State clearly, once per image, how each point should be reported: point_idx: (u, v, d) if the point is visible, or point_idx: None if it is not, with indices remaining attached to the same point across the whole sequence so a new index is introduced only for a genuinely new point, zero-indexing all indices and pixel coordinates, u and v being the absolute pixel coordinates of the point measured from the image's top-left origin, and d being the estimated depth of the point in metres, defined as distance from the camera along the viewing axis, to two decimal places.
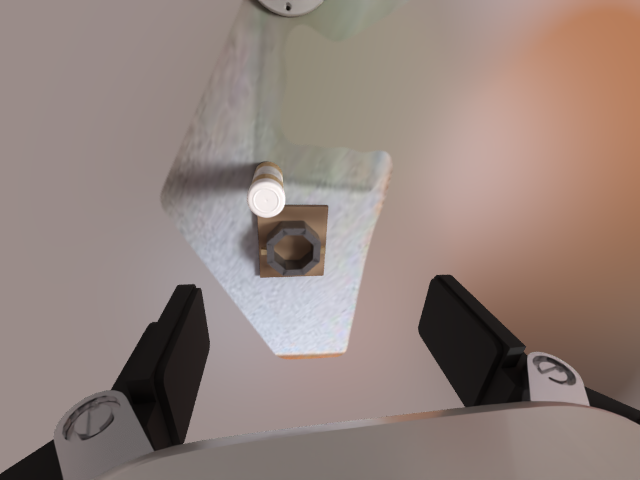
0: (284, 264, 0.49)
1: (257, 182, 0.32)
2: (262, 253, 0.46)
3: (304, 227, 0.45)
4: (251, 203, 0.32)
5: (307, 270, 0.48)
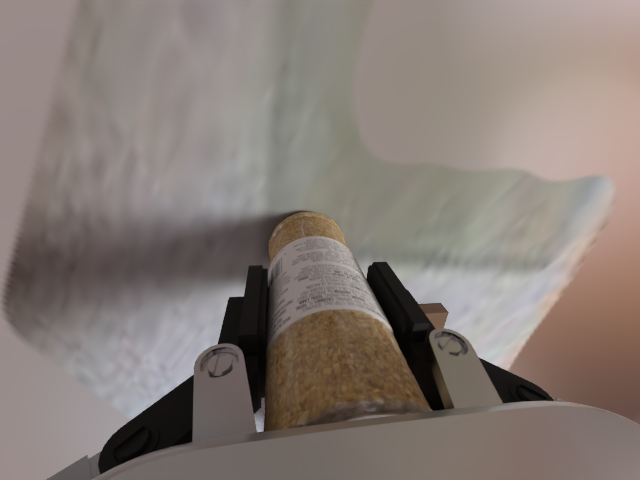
0: None
1: None
2: None
3: None
4: None
5: None
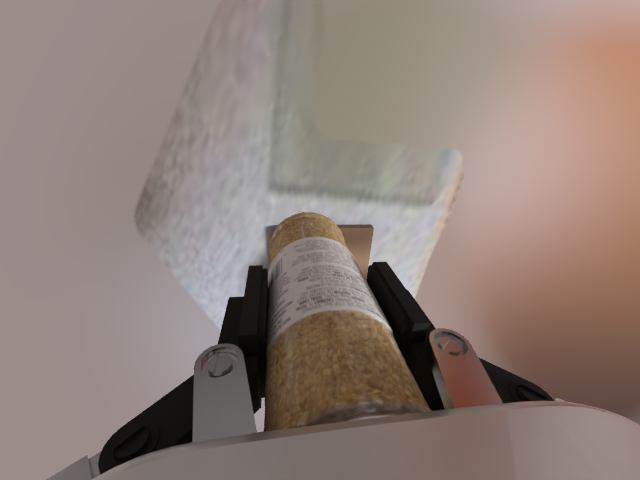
0: None
1: None
2: None
3: None
4: None
5: None
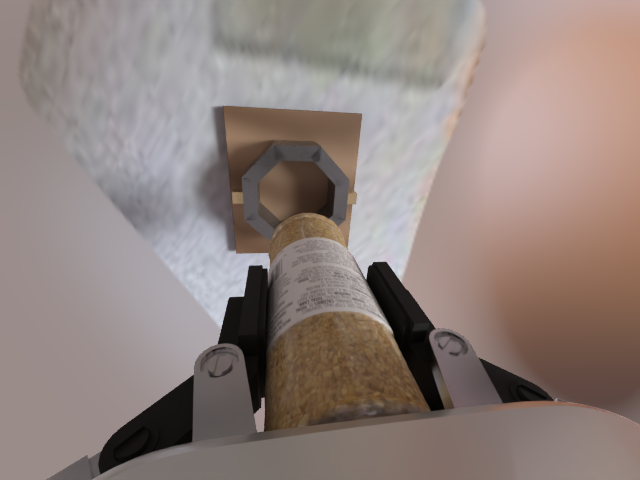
0: None
1: None
2: (235, 200, 0.23)
3: (317, 145, 0.22)
4: None
5: None
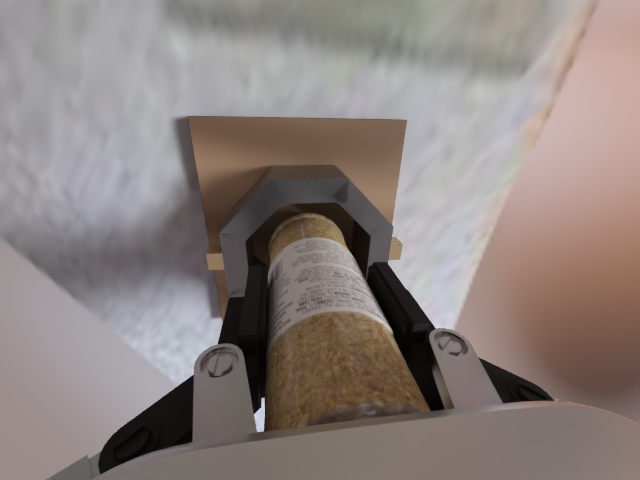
0: None
1: None
2: (211, 265, 0.15)
3: (342, 176, 0.14)
4: None
5: None
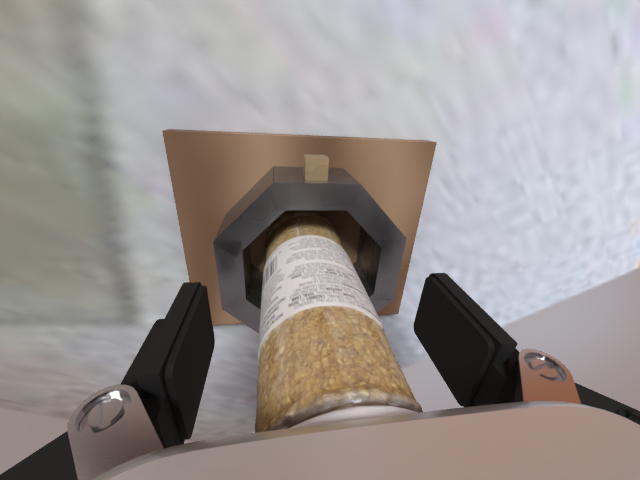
0: (361, 280, 0.16)
1: None
2: None
3: None
4: None
5: (389, 228, 0.13)
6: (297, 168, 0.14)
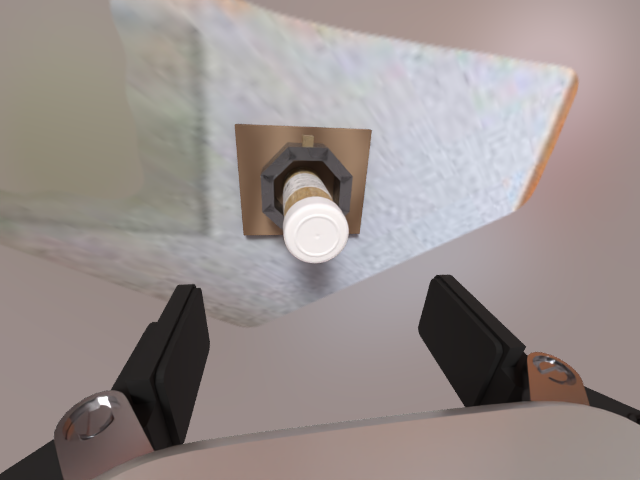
0: None
1: (303, 205, 0.18)
2: None
3: None
4: (291, 240, 0.18)
5: (343, 170, 0.27)
6: (299, 143, 0.28)
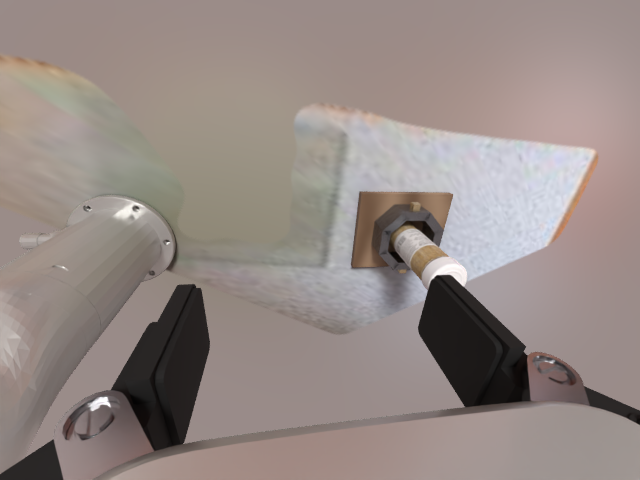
0: None
1: (442, 264, 0.29)
2: (404, 272, 0.42)
3: (381, 230, 0.38)
4: None
5: (438, 226, 0.38)
6: (404, 205, 0.39)
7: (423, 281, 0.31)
